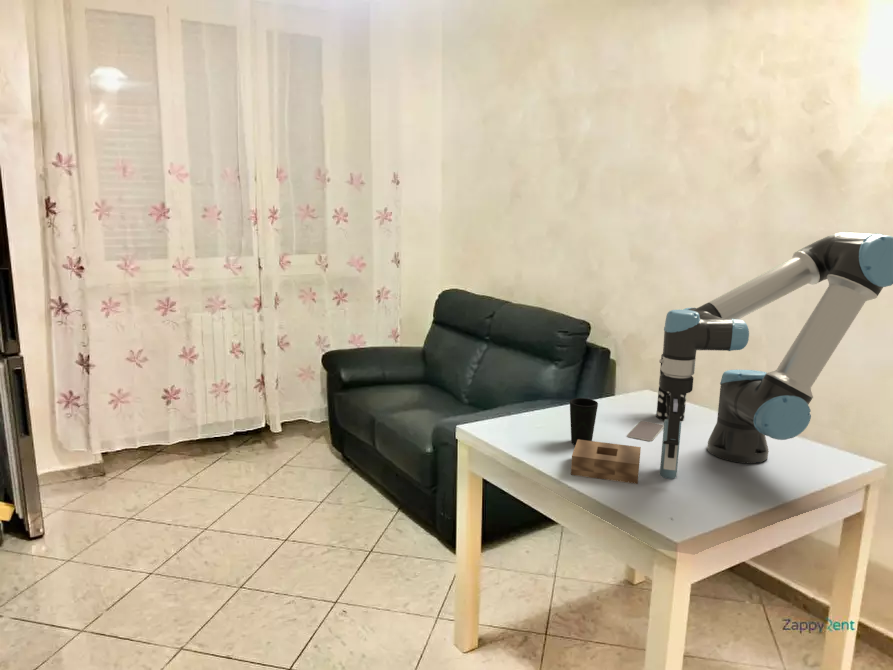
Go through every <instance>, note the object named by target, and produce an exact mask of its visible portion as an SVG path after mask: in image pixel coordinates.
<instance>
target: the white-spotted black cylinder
mask: <svg viewBox="0 0 893 670" xmlns="http://www.w3.org/2000/svg"><path fill="white" fill-rule="evenodd" d="M662 357H663V353H661V358H660V359H663V358H662ZM662 364H663V363H660V367H659V368H660V369H659V381H658V393H657V402H656V416H655V417H656V418H657V419H659V420H661V421H663V422H664V420H666V419H667V409H666V395H669V392H666V391H664V390H662V389H661V388H660V377H661V374H662V373H663V372H662V371H661V369H662ZM687 394H688V393H683V394H681V397H683V400H684V405H683V407H682V416H681V417H680V421H681V422H683V421H685V415H686V413H685V411H686V404H687V403H686V402H687V401H686V400H687Z"/></svg>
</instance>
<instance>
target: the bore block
mask: <svg viewBox="0 0 893 670" xmlns="http://www.w3.org/2000/svg"><path fill="white" fill-rule="evenodd" d="M641 451H642V450H641V446H637V445H636V446H635V445H626V444H618V443H612V442H611V443H610V442H603V441H602V442H601V441H595V440H592V441H587V440H579V439H578V440H577V443H576V445H574V449H573V451H572V455H571V464H570V467H571V468H570V475H571V476H577V477H584V478H585V477H586V478H590V479H591V478H593V479H598V480H608V481H613V482H620V483H626V484H627V483H629V484H635V485H638V484H639V472H640V461H641Z"/></svg>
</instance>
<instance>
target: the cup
mask: <svg viewBox="0 0 893 670" xmlns="http://www.w3.org/2000/svg"><path fill="white" fill-rule="evenodd" d="M598 406H599V403H598V401H596V400H594V399H592V398H588V397H587V398H584V397H576V398H575V397H574V398H572V399H570V400H569V414H570V415H569V416H570V417H569V419H570V421H569V422H570V443H571V445H573V446H575V445H576V443H577V440H578V439H579V440H587V441H593V437H594V431H595V425H596V419H597V418H596V417H597V413H598Z"/></svg>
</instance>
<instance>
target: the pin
mask: <svg viewBox="0 0 893 670" xmlns="http://www.w3.org/2000/svg"><path fill="white" fill-rule="evenodd" d="M663 425H664V428H663V429H662V431H663V433H662V442H661V443H662V444H661V455H660V464H659V465H660V467H659V476H660V477H662V478H665V479H669V480H672V479H676V478H677V477H678V476H677V475H678V463H679V455H680V454H679V453H680V442H681V432H682V431H681V430H682V421H680V425H679V438H678V442H679V444H678V449H677V459H676V470H667V469H664V458H665V447H666V444H663V441H667V431H668V419H666V420H664V421H663ZM671 440H675V439H671Z"/></svg>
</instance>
